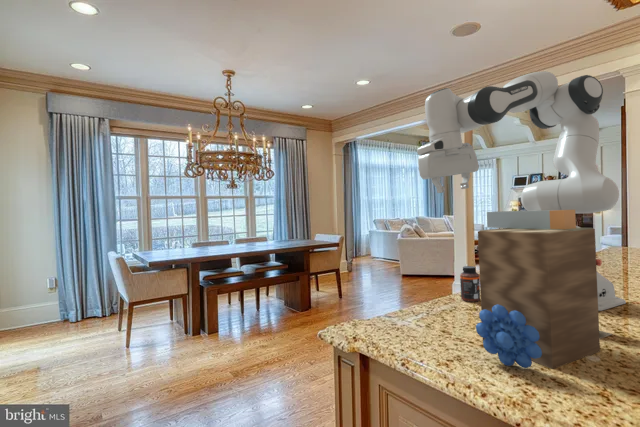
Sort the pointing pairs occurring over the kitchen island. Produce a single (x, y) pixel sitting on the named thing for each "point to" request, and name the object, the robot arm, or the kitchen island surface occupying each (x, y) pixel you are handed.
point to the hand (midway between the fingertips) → (453, 190)
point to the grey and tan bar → (532, 219)
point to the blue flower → (508, 336)
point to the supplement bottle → (470, 284)
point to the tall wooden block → (545, 286)
